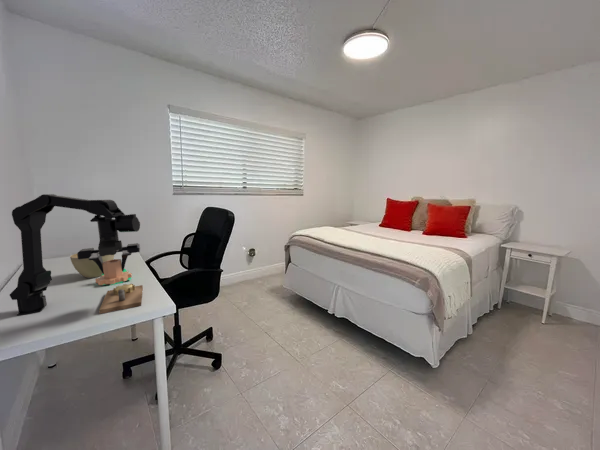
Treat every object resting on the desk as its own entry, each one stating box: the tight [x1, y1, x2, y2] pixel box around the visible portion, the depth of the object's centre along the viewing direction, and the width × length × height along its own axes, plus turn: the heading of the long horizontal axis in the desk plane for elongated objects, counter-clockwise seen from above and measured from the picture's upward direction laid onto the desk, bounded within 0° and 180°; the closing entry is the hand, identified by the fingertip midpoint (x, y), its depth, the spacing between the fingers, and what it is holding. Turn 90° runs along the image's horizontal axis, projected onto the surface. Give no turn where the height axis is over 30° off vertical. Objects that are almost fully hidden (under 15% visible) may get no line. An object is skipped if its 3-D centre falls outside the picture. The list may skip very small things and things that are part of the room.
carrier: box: [98, 283, 144, 315], centre depth 104 cm, size 13×21×6 cm, turn 31°
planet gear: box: [95, 258, 133, 286], centre depth 97 cm, size 11×11×8 cm
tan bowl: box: [69, 253, 115, 279], centre depth 134 cm, size 18×18×12 cm
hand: (113, 272), depth 97 cm, fingers closed on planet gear, 6 cm apart
